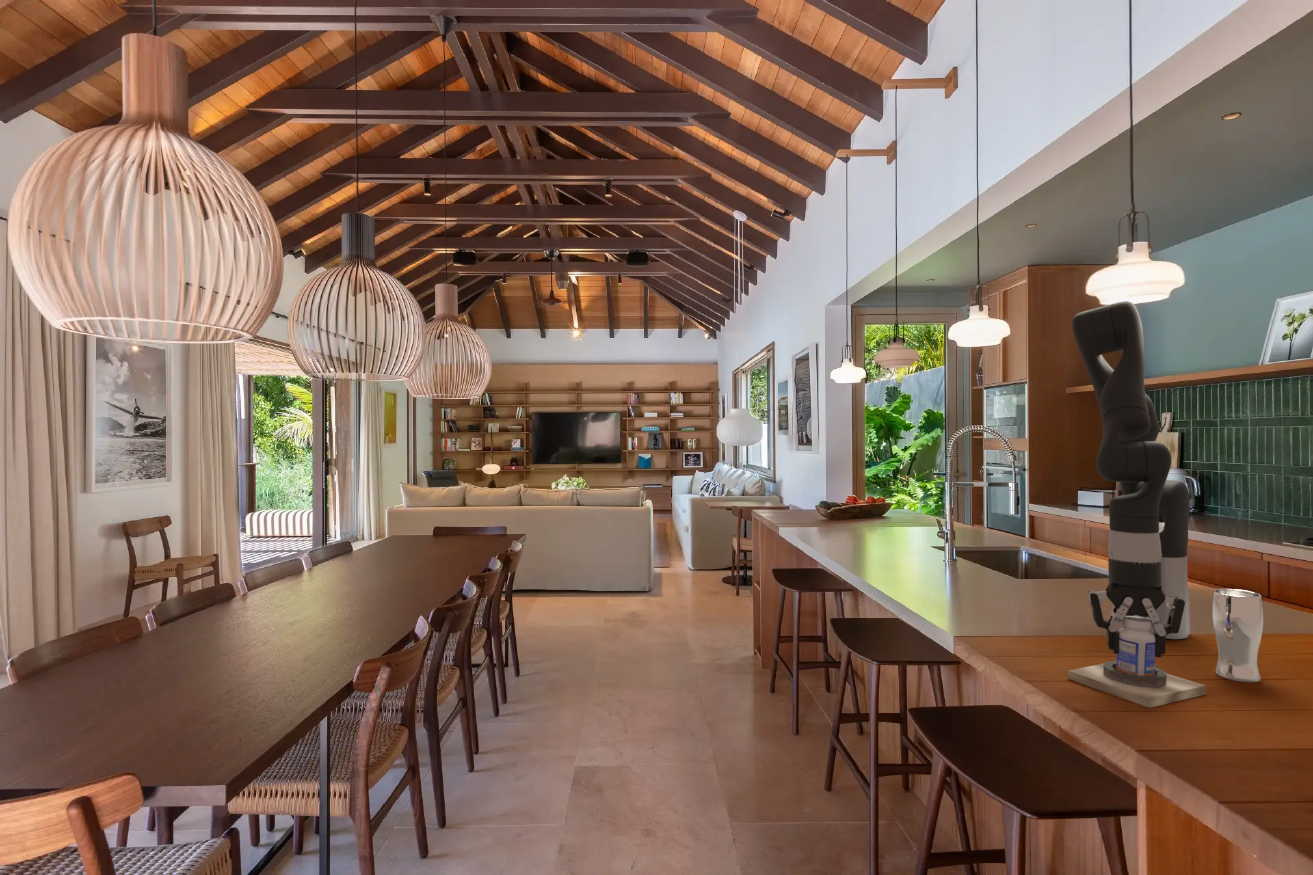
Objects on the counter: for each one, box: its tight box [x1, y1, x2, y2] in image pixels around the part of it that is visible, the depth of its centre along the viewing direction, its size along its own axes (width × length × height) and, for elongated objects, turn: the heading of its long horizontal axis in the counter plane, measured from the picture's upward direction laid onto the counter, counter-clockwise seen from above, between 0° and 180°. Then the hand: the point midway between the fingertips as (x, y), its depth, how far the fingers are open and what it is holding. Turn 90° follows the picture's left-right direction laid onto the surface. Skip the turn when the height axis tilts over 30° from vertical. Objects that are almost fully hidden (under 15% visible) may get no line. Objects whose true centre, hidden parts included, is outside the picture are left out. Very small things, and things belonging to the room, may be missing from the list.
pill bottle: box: [1116, 615, 1156, 676], centre depth 118 cm, size 5×5×10 cm
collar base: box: [1067, 659, 1207, 709], centre depth 118 cm, size 14×14×3 cm
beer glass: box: [1211, 588, 1264, 683], centre depth 122 cm, size 7×7×15 cm
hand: (1135, 653), depth 118 cm, fingers closed on pill bottle, 5 cm apart
